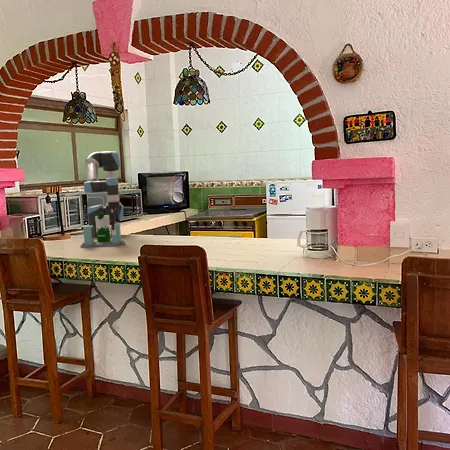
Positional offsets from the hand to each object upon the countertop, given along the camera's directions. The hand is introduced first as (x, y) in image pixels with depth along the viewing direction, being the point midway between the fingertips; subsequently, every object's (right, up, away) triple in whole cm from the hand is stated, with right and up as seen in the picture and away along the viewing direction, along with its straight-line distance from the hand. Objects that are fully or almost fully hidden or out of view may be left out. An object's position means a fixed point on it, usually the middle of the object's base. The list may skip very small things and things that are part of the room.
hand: (116, 233), depth 317 cm
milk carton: (-13, -6, +21) cm, 26 cm away
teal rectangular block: (-18, -7, 0) cm, 19 cm away
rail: (-9, -8, +1) cm, 12 cm away
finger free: (0, -6, +1) cm, 6 cm away
